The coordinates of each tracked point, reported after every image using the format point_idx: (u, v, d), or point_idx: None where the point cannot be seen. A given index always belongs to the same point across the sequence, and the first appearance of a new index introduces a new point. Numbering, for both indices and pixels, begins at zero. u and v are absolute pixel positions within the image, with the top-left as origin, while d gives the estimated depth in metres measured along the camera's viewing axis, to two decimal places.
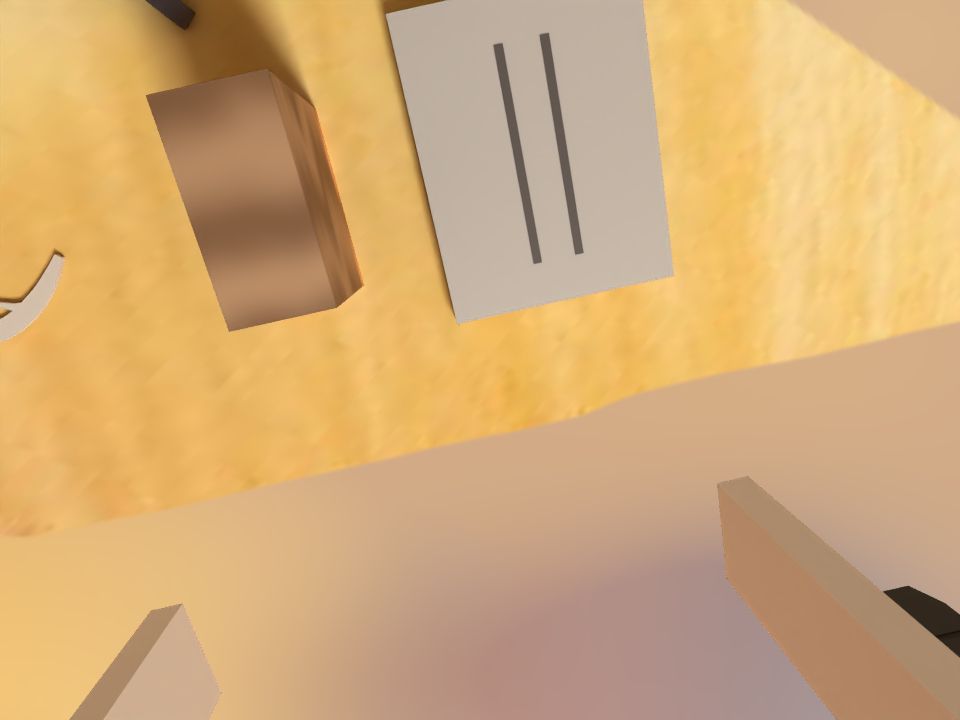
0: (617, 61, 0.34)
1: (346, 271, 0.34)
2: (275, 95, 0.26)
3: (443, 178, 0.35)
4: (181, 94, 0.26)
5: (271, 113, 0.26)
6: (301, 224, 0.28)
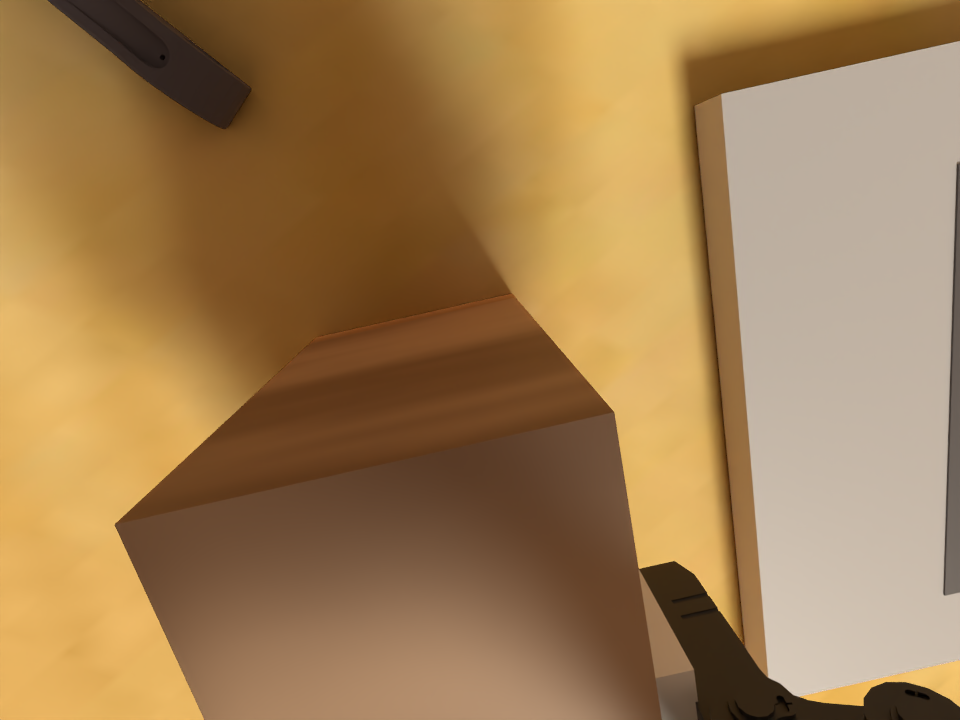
0: None
1: None
2: None
3: (791, 443, 0.16)
4: (261, 517, 0.06)
5: (604, 560, 0.07)
6: None
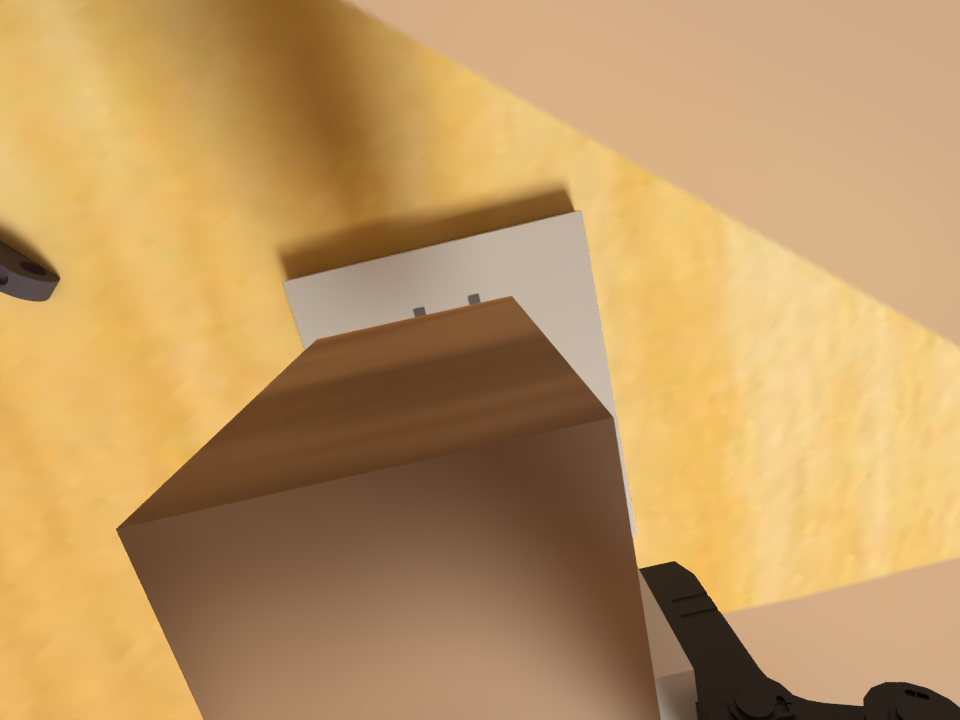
0: (561, 320, 0.29)
1: None
2: None
3: None
4: (262, 520, 0.06)
5: (604, 564, 0.07)
6: None
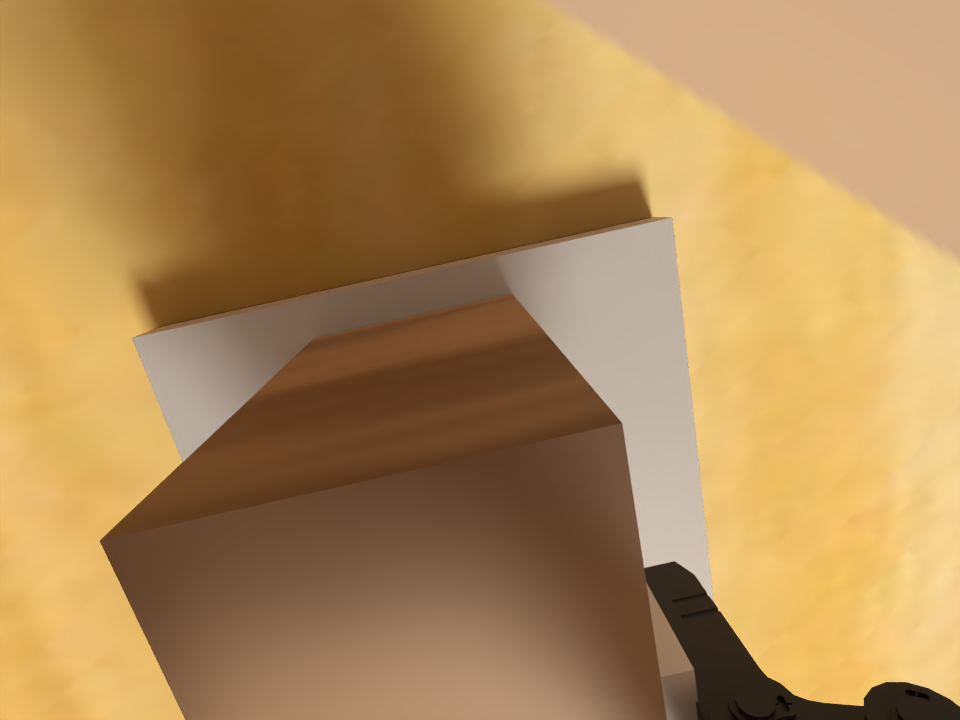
0: (627, 405, 0.17)
1: None
2: None
3: None
4: (253, 532, 0.06)
5: (611, 575, 0.06)
6: None
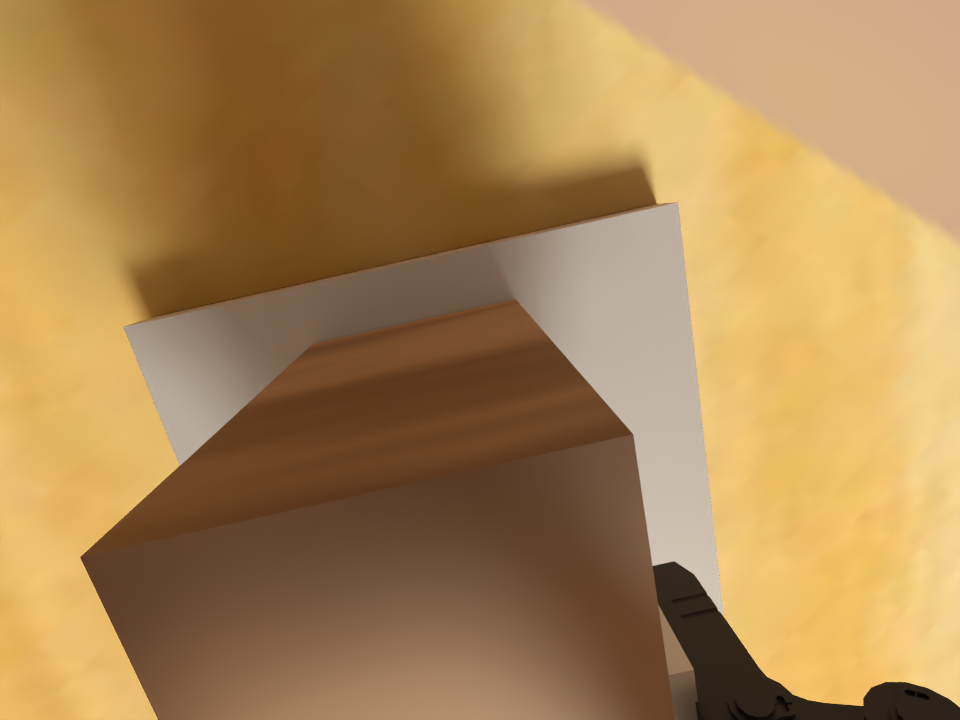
0: (632, 397, 0.16)
1: None
2: None
3: None
4: (242, 548, 0.06)
5: (621, 595, 0.06)
6: None
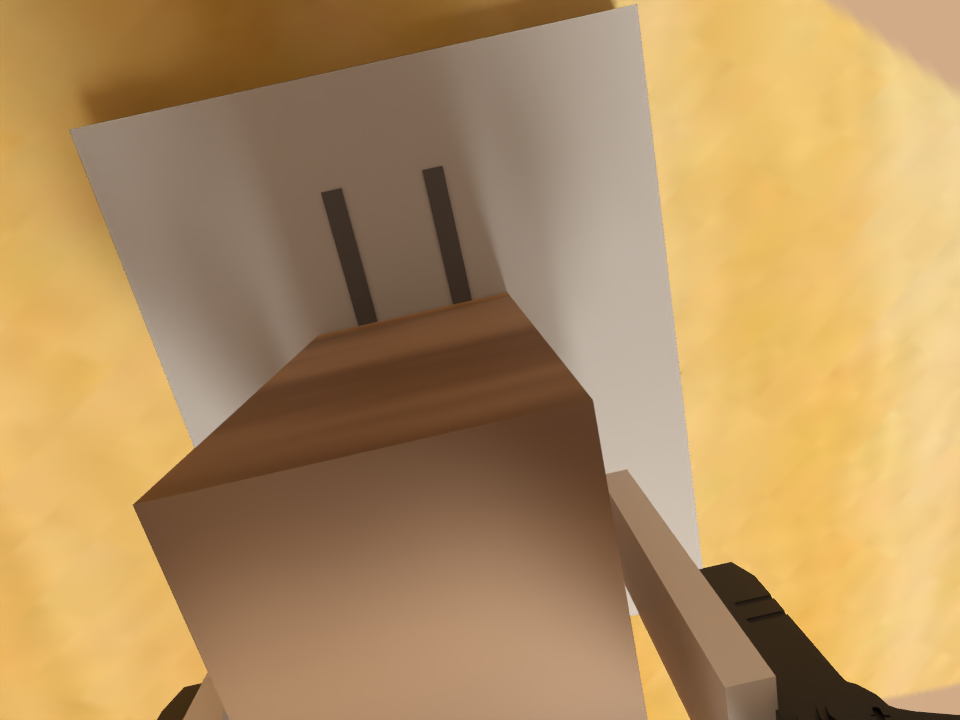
0: (593, 220, 0.16)
1: None
2: None
3: None
4: (267, 497, 0.07)
5: (586, 538, 0.07)
6: None
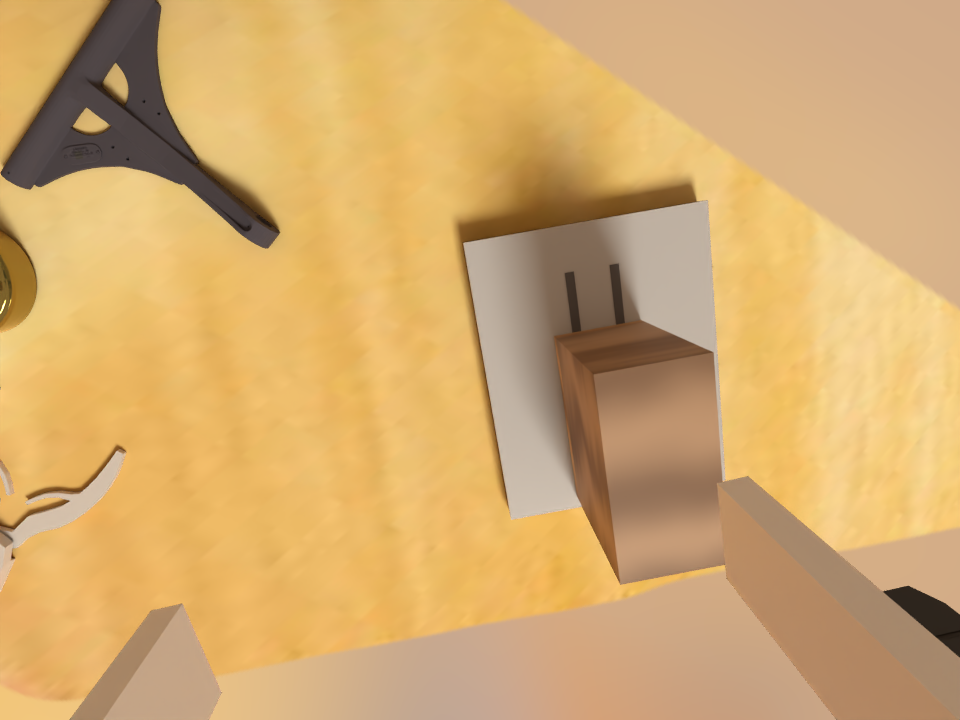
0: (682, 289, 0.35)
1: None
2: None
3: (507, 388, 0.36)
4: (627, 374, 0.26)
5: (708, 391, 0.26)
6: (712, 489, 0.28)
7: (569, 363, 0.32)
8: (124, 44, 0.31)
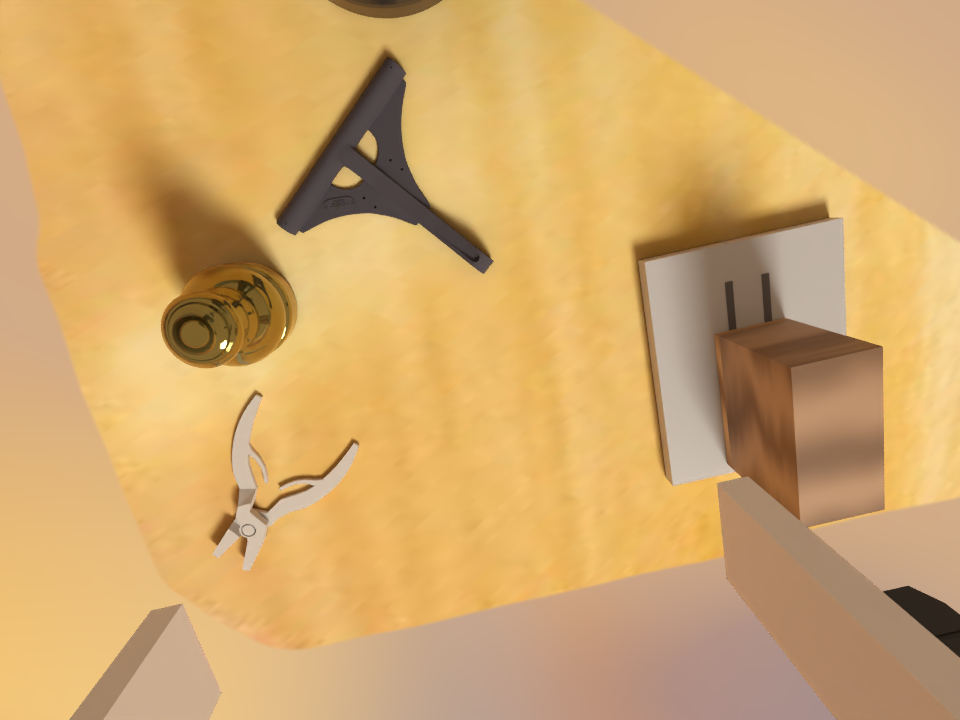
0: (819, 291, 0.43)
1: None
2: None
3: (675, 378, 0.44)
4: (816, 366, 0.34)
5: (876, 376, 0.34)
6: (875, 452, 0.36)
7: (742, 357, 0.40)
8: (377, 115, 0.39)
